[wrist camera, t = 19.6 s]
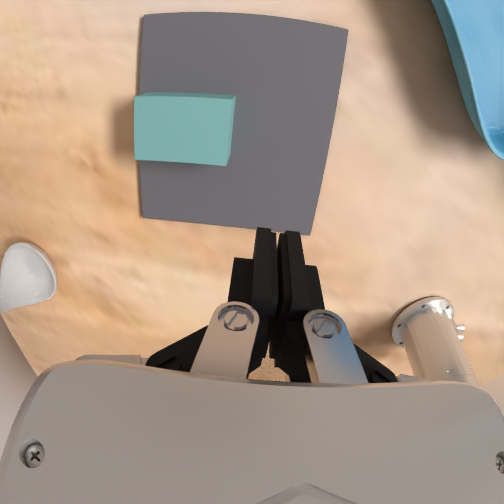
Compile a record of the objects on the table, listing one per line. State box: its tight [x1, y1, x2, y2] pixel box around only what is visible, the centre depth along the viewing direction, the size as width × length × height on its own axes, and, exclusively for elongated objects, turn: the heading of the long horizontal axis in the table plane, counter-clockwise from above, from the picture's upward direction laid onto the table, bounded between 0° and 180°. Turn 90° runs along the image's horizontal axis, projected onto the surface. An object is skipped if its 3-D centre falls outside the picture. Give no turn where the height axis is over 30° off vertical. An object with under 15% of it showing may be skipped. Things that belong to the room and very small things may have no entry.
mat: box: [139, 12, 348, 236], centre depth 33 cm, size 22×26×1 cm
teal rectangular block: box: [134, 92, 236, 166], centre depth 31 cm, size 4×7×10 cm
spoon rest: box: [0, 242, 57, 313], centre depth 45 cm, size 24×12×7 cm, turn 123°
